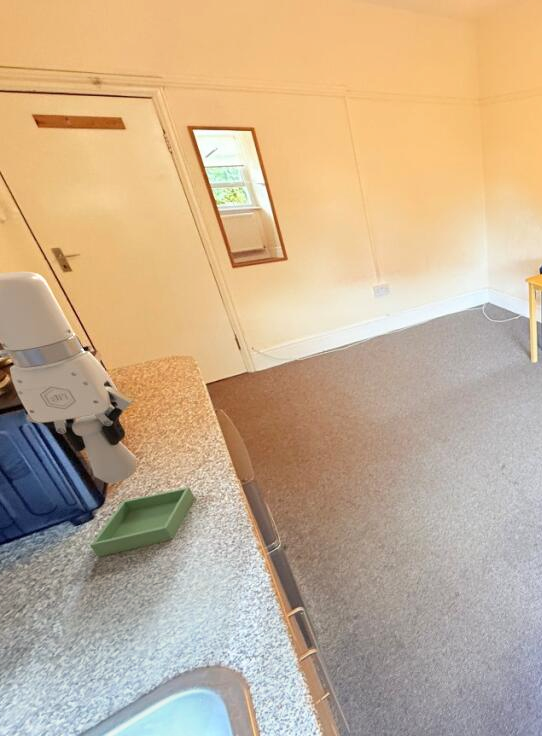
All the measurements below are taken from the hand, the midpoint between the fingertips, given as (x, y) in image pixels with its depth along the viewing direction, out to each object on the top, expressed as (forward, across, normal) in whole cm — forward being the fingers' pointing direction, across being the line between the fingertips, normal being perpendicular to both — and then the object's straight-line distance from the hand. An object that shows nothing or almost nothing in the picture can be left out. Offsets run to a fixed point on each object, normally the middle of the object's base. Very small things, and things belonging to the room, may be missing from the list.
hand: (101, 442), depth 70 cm
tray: (+21, 0, 0) cm, 21 cm away
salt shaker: (+8, 0, 0) cm, 8 cm away
